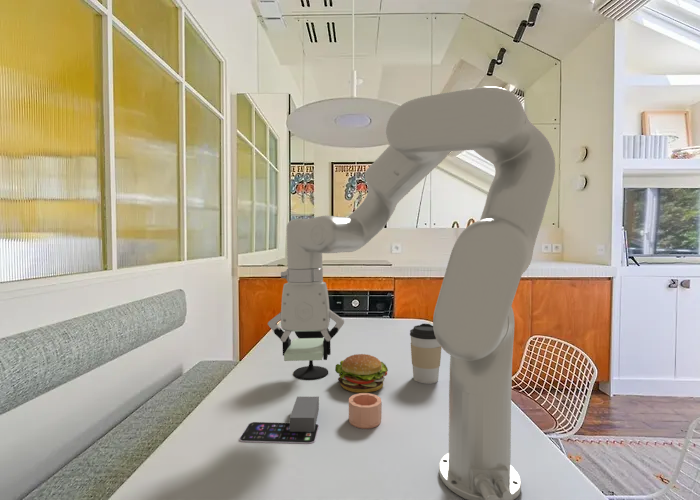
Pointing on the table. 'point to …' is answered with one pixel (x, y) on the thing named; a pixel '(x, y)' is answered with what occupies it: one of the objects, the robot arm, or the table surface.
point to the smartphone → (276, 433)
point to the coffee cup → (425, 354)
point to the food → (361, 373)
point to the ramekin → (365, 410)
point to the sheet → (305, 349)
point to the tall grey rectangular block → (304, 414)
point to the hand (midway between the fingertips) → (307, 357)
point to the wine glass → (310, 371)
